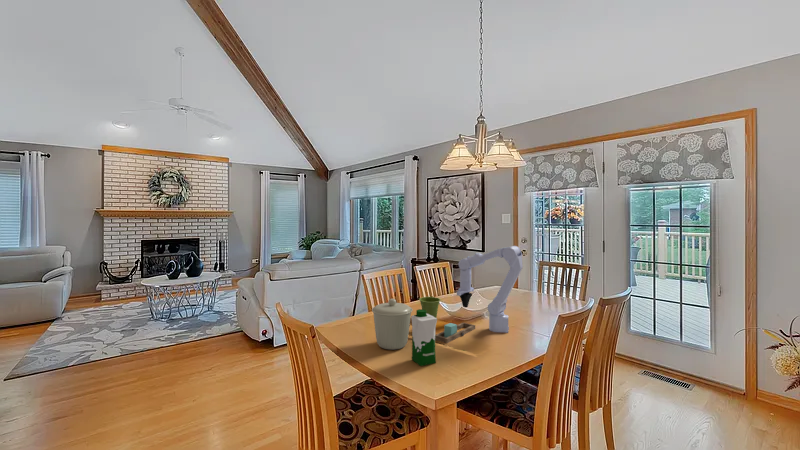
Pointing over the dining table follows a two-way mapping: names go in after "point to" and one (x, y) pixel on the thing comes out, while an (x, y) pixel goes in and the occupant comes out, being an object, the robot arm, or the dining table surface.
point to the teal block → (450, 329)
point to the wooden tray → (461, 333)
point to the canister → (392, 324)
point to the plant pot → (430, 305)
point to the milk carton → (423, 338)
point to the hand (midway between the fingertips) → (465, 306)
